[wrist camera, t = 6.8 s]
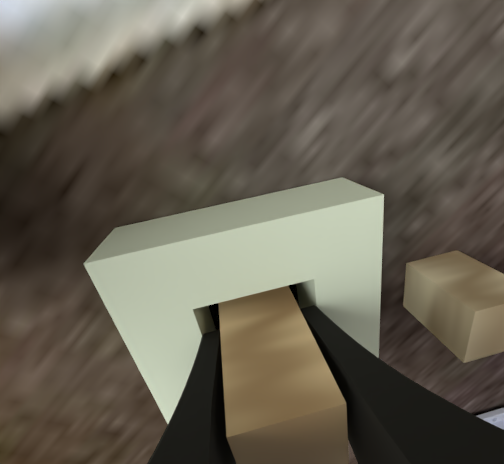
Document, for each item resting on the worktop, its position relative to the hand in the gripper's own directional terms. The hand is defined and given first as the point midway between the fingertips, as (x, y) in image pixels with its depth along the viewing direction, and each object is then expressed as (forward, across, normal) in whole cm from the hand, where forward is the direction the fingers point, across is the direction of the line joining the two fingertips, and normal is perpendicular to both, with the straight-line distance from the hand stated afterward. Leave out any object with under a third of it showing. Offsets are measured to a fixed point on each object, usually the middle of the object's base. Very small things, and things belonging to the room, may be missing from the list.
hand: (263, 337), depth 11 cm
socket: (+3, 0, 0) cm, 3 cm away
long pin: (+3, 0, 0) cm, 3 cm away
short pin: (+3, -10, +2) cm, 11 cm away
